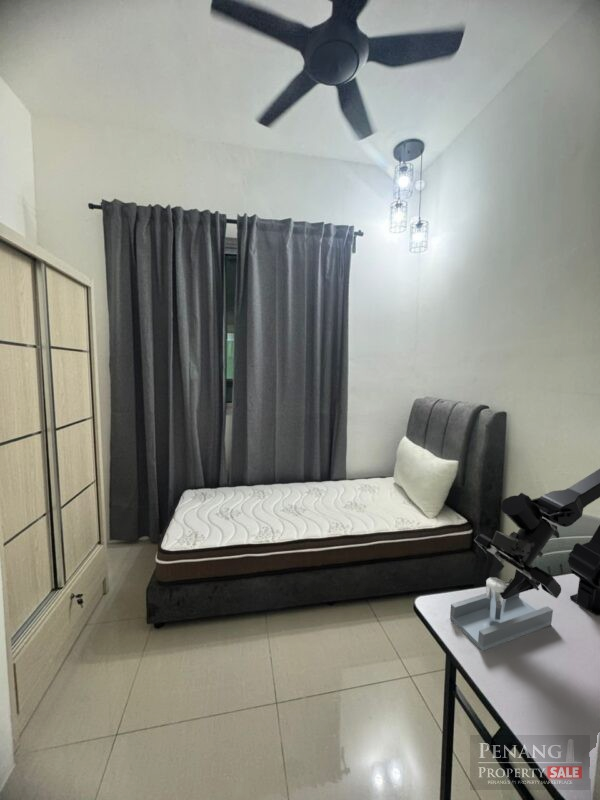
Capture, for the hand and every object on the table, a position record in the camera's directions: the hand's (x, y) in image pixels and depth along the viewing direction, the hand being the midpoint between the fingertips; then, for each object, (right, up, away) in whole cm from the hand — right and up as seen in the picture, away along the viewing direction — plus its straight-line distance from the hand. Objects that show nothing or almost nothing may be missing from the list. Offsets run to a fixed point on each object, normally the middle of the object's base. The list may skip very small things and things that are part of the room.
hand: (493, 590), depth 76 cm
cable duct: (+3, -9, +2) cm, 10 cm away
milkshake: (+1, -7, +1) cm, 7 cm away
